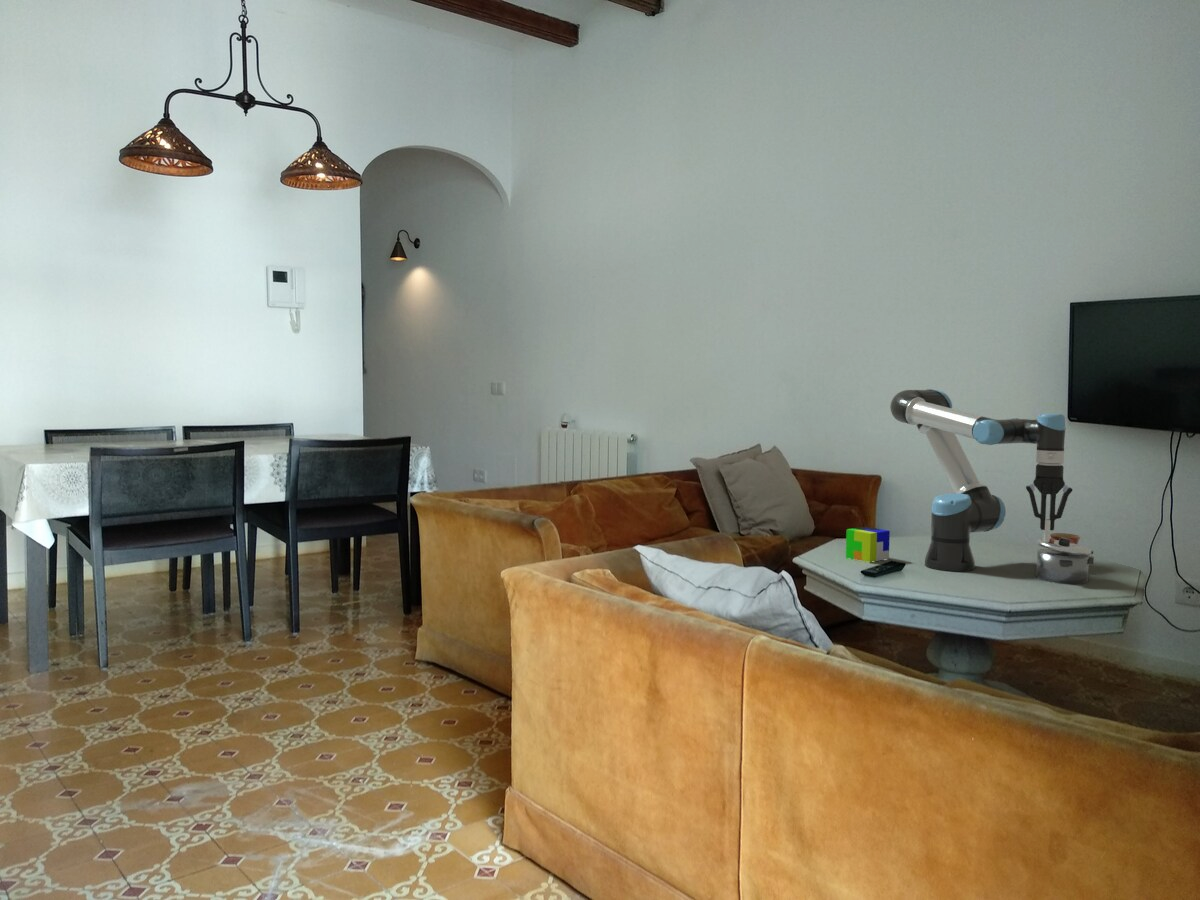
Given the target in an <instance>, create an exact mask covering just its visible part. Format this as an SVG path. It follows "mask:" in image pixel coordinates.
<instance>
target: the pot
mask: <svg viewBox="0 0 1200 900" xmlns="http://www.w3.org/2000/svg"><path fill="white" fill-rule="evenodd" d="M1094 560H1095V559H1094V556H1093V555H1079V554H1071V553H1065V552H1060V551H1056V550H1052V549H1048V548H1041V549H1038V550H1037V552H1036V570H1035V571H1036V574H1035V575H1036V576H1035V577H1036V578H1037V579H1038V578H1039V580H1041V581H1044V580H1045V581H1044V582H1048V581H1049V583H1054V582H1055V583H1054V584H1062V585H1063V584H1067V585H1081V584H1082V585H1083V584H1087V583H1088V582H1089V565H1094V564H1095V563H1094Z"/></svg>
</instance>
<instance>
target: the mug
mask: <svg viewBox="0 0 1200 900" xmlns="http://www.w3.org/2000/svg"><path fill="white" fill-rule="evenodd" d="M1060 537H1062V538H1068V539H1070V540H1071V541H1070V543H1074V544H1077V545H1079V541H1080V539H1081V536H1080V535H1078V534H1074V533H1066V532H1064V533H1063V532H1053V533H1050V538H1051V539H1055V540H1059V539H1060Z"/></svg>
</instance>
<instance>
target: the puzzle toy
mask: <svg viewBox="0 0 1200 900" xmlns="http://www.w3.org/2000/svg"><path fill="white" fill-rule="evenodd" d="M890 532H891V530H887V529H881V528H876V527H869V526H862V527H861V526H860V527H854V528H847V529H846V532H845V533H846V534H845V537H846V539H845V541H846V542H845V559H848V558H851V559H850V560H853V559H857V560H862V561H868V562H872V561H878V560H884V559H889V560H890ZM857 560H856V561H857ZM862 561H861V562H862ZM884 561H885V560H884Z"/></svg>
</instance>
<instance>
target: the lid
mask: <svg viewBox="0 0 1200 900" xmlns="http://www.w3.org/2000/svg"><path fill="white" fill-rule="evenodd" d="M1070 541H1071V540H1070V539H1068V538H1062V537H1060V539H1059V540H1055V539H1051V537H1050V542H1049V541H1044V538H1037V539H1036V545H1038V546H1040V547H1043V548H1044V549H1052V550H1056V551H1060V552H1065V553H1071V554H1079V555H1089V556H1091V555H1094V551H1093V549H1091V548H1089V547H1087V546H1084V545H1081V544H1078V545H1077V544H1074V543H1070Z"/></svg>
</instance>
